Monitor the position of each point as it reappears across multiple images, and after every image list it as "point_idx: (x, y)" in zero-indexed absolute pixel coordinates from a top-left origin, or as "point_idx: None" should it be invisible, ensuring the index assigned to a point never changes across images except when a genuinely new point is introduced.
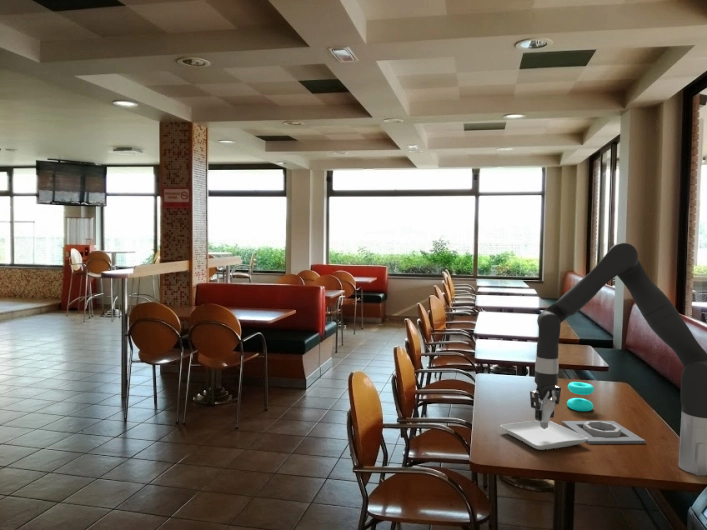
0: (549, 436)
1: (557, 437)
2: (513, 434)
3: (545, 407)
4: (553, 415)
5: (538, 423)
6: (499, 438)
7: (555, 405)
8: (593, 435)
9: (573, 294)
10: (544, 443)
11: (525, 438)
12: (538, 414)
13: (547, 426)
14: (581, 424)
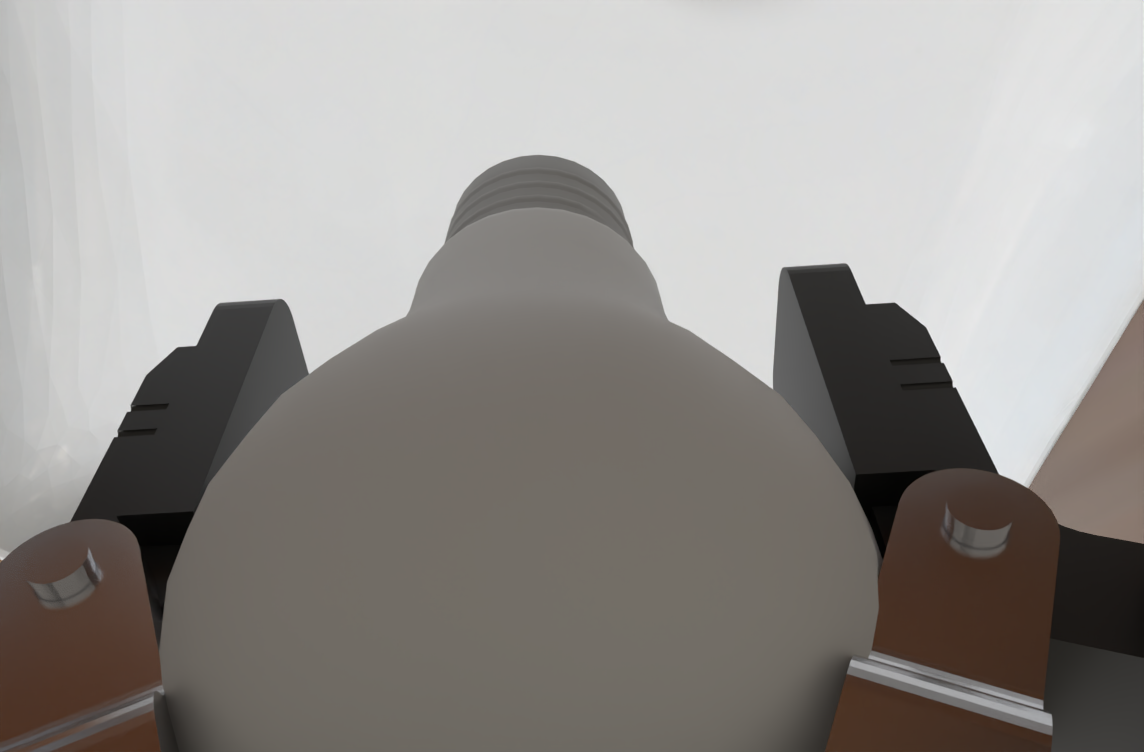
0: (366, 123)
1: (252, 3)
2: (1032, 377)
3: (826, 505)
4: (218, 330)
5: None
6: (1114, 433)
7: (32, 558)
8: None
9: None
10: None
11: (869, 241)
12: (959, 407)
13: (519, 167)
14: None
